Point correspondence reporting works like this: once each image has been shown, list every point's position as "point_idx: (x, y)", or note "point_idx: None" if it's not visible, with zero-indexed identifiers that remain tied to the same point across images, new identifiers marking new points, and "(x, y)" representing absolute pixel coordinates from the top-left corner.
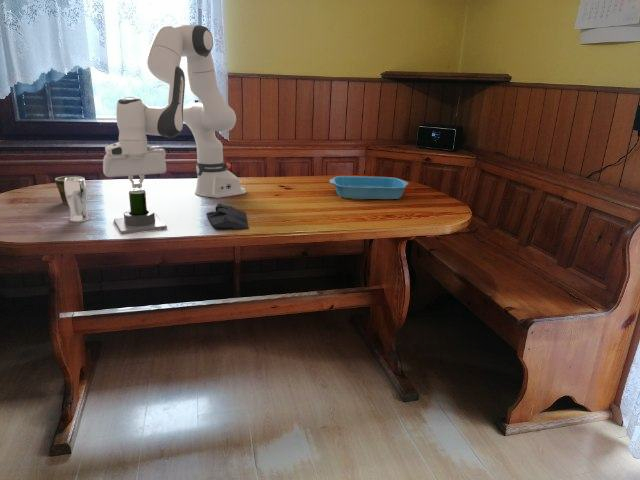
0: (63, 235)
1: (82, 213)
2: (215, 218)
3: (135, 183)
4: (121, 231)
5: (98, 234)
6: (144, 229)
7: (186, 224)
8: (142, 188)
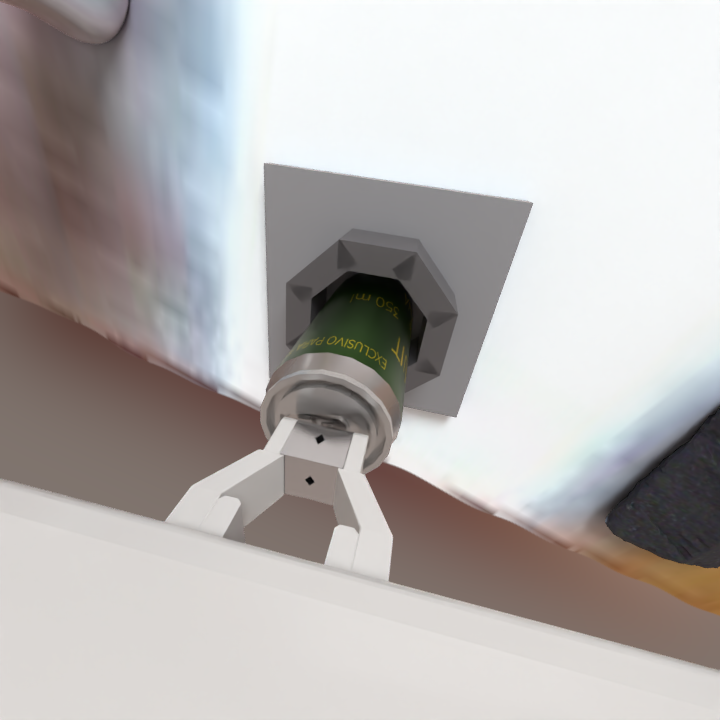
0: (69, 259)
1: (55, 12)
2: (695, 489)
3: (290, 493)
4: (271, 376)
5: (195, 321)
6: None
7: (566, 403)
8: (384, 421)
